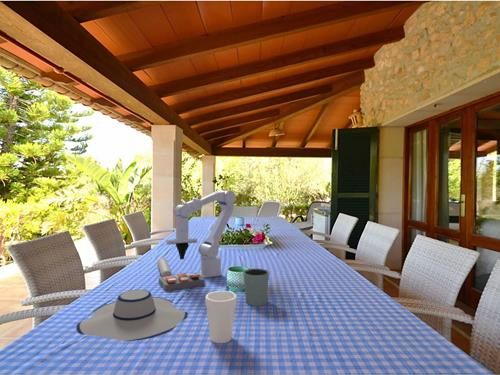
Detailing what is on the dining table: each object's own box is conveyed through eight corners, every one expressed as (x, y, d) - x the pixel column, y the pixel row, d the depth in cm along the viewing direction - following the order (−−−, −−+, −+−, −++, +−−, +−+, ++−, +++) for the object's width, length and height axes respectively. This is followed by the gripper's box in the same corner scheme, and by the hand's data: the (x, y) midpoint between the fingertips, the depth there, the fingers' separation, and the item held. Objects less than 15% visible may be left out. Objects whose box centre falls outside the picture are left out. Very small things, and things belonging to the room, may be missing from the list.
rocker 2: (185, 274, 158) (185, 272, 158) (188, 281, 153) (189, 279, 152) (177, 275, 156) (177, 273, 156) (180, 282, 151) (181, 280, 151)
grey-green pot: (250, 308, 128) (250, 276, 128) (239, 299, 137) (239, 270, 136) (273, 303, 133) (273, 273, 132) (261, 295, 142) (261, 267, 141)
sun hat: (94, 304, 134) (94, 281, 134) (187, 298, 140) (187, 276, 140) (59, 349, 99) (59, 318, 98) (186, 339, 105) (186, 310, 104)
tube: (174, 271, 164) (168, 259, 188) (163, 269, 162) (159, 256, 186) (170, 282, 164) (165, 268, 187) (159, 279, 162) (155, 266, 185)
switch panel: (196, 278, 166) (196, 271, 166) (204, 285, 155) (204, 278, 155) (158, 283, 158) (158, 276, 158) (165, 290, 147) (165, 283, 147)
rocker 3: (196, 276, 160) (196, 274, 160) (200, 276, 155) (200, 274, 155) (189, 277, 159) (189, 274, 159) (193, 277, 153) (192, 275, 154)
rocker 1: (173, 277, 155) (173, 275, 155) (176, 281, 150) (176, 279, 150) (165, 278, 154) (165, 276, 154) (168, 282, 148) (168, 280, 148)
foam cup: (206, 331, 109) (206, 291, 108) (235, 330, 109) (235, 290, 109) (205, 346, 99) (204, 302, 99) (236, 345, 100) (236, 301, 99)
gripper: (169, 232, 154) (168, 262, 155) (199, 230, 161) (199, 259, 161) (165, 230, 161) (164, 258, 161) (195, 228, 167) (194, 256, 167)
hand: (181, 258), depth 161 cm, fingers closed
